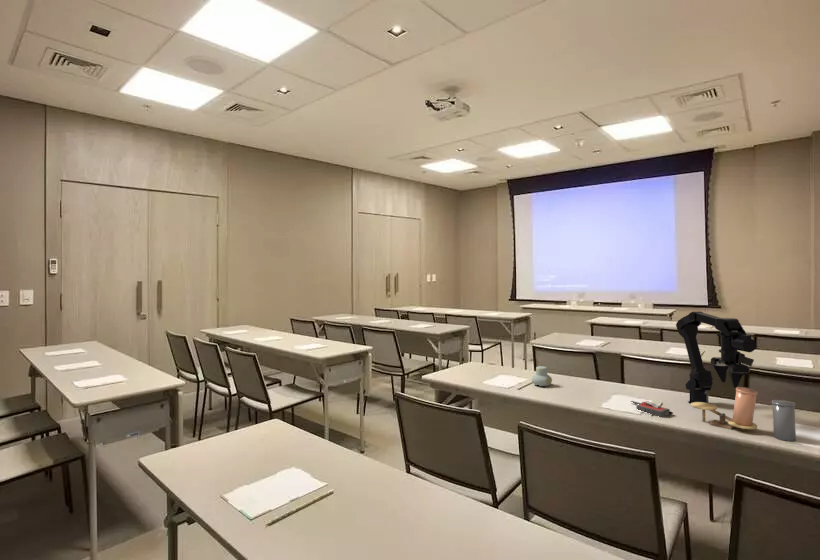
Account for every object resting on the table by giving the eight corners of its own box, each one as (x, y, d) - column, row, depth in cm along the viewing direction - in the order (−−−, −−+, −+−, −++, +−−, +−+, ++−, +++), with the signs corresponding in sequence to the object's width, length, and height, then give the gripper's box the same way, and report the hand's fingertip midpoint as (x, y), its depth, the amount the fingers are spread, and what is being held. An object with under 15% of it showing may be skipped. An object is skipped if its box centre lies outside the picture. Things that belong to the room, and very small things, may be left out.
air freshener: (543, 388, 237) (543, 370, 237) (529, 386, 243) (529, 367, 243) (553, 384, 244) (553, 366, 244) (540, 382, 250) (539, 364, 250)
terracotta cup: (727, 419, 173) (732, 387, 172) (738, 418, 175) (742, 386, 174) (745, 427, 167) (750, 393, 165) (757, 425, 169) (761, 392, 168)
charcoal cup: (772, 438, 162) (771, 402, 162) (773, 433, 167) (772, 399, 167) (796, 442, 157) (795, 405, 158) (796, 437, 162) (795, 401, 162)
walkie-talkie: (676, 415, 190) (632, 404, 208) (676, 405, 190) (632, 394, 208) (664, 419, 186) (620, 407, 203) (664, 408, 186) (620, 397, 203)
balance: (687, 421, 182) (687, 405, 182) (695, 416, 187) (695, 400, 187) (753, 436, 165) (753, 418, 165) (760, 430, 170) (760, 412, 170)
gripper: (764, 352, 177) (764, 391, 177) (737, 344, 195) (737, 380, 195) (733, 352, 178) (733, 390, 179) (709, 344, 197) (710, 379, 197)
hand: (729, 385), depth 187 cm, fingers open, 9 cm apart
